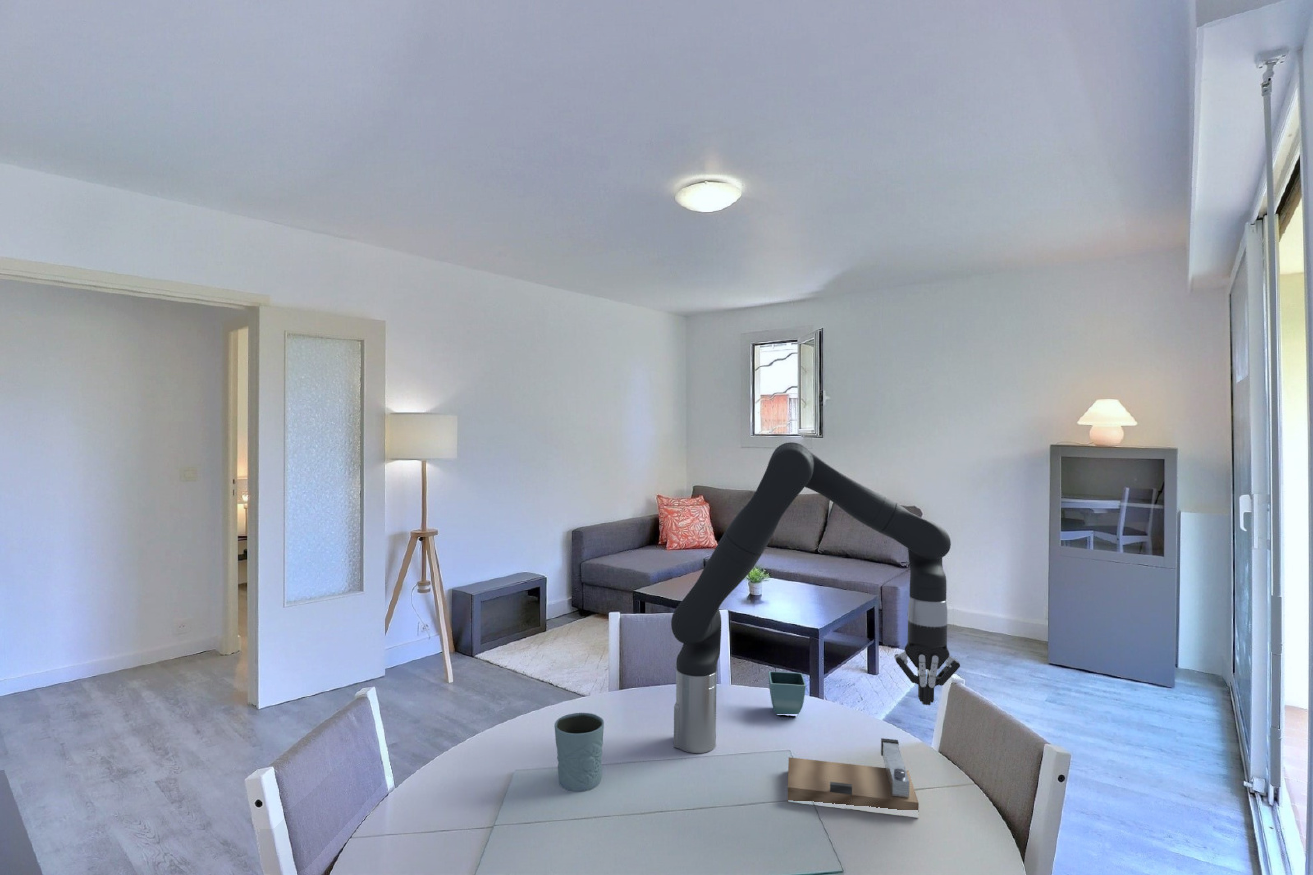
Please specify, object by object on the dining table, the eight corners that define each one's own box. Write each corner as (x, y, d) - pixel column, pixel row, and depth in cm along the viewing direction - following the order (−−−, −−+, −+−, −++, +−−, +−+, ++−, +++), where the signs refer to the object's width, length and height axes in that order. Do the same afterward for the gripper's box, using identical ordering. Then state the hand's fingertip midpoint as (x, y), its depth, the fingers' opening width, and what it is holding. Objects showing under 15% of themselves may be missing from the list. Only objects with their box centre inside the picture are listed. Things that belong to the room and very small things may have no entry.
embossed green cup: (595, 796, 132) (595, 736, 132) (546, 790, 134) (546, 731, 134) (609, 770, 142) (609, 714, 142) (563, 765, 144) (564, 709, 144)
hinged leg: (910, 797, 127) (910, 777, 127) (891, 795, 128) (891, 775, 128) (897, 754, 144) (897, 736, 143) (880, 753, 144) (881, 735, 144)
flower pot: (801, 706, 175) (802, 672, 175) (805, 721, 167) (806, 685, 166) (767, 704, 176) (768, 670, 176) (769, 719, 168) (770, 683, 167)
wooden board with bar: (787, 802, 131) (787, 779, 131) (788, 771, 142) (788, 750, 142) (918, 818, 126) (918, 794, 126) (908, 785, 137) (908, 763, 137)
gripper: (896, 622, 136) (894, 708, 136) (966, 627, 133) (964, 714, 133) (891, 612, 143) (889, 693, 143) (957, 616, 140) (956, 699, 141)
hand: (926, 703), depth 138 cm, fingers closed
